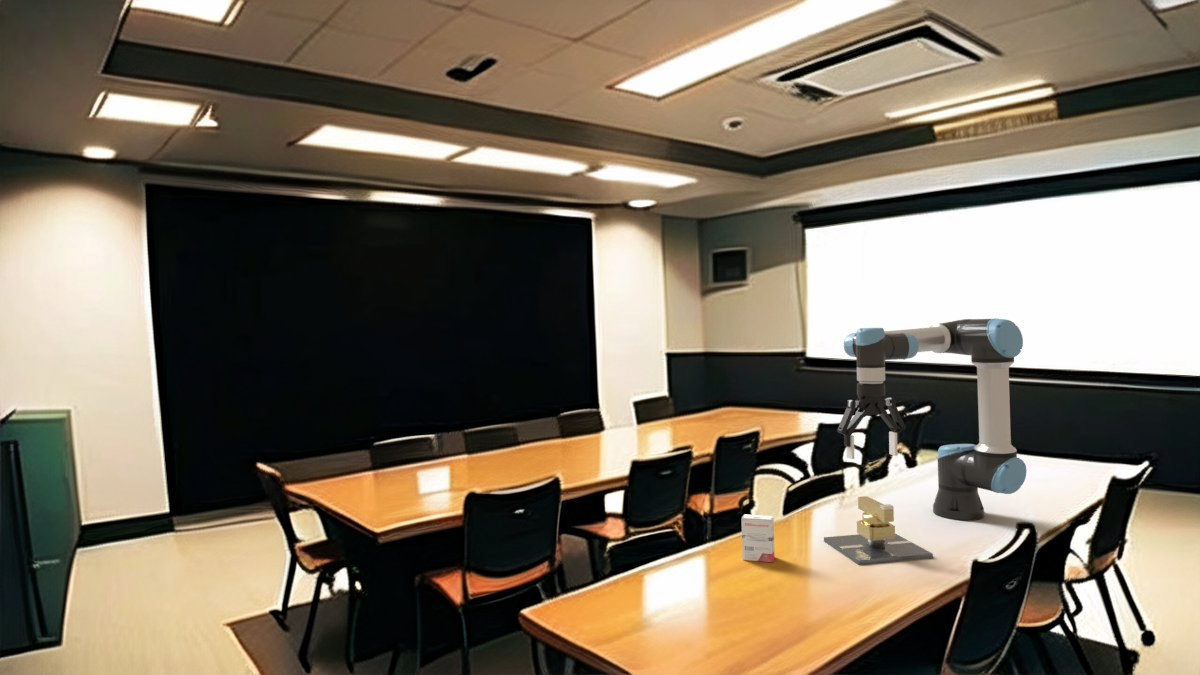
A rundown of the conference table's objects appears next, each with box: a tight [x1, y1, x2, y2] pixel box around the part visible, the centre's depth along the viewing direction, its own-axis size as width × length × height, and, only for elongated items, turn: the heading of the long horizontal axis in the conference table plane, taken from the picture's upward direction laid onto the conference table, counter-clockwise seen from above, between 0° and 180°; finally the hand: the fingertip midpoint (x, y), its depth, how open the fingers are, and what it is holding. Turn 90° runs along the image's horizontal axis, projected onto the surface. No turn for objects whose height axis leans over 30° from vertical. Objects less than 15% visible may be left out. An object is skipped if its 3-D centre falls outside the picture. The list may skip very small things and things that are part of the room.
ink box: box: [741, 513, 775, 563], centre depth 195 cm, size 9×5×12 cm, turn 71°
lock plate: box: [823, 526, 934, 566], centre depth 199 cm, size 22×20×7 cm
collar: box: [856, 495, 896, 541], centre depth 199 cm, size 8×14×10 cm, turn 9°
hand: (872, 456), depth 198 cm, fingers open, 13 cm apart
